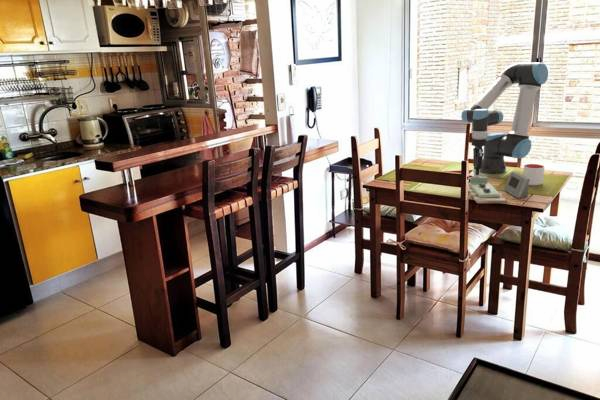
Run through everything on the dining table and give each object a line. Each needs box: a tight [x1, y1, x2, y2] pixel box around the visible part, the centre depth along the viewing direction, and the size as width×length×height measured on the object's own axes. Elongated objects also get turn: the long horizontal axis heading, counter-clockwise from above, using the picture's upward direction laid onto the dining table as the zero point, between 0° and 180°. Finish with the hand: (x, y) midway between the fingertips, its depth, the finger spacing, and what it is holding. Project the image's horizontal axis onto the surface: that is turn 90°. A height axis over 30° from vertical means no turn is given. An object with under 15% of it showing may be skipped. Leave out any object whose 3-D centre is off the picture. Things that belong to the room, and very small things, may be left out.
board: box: [468, 183, 508, 204], centre depth 237 cm, size 29×14×4 cm, turn 173°
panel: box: [468, 176, 501, 197], centre depth 239 cm, size 22×10×4 cm, turn 173°
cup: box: [522, 163, 545, 187], centre depth 250 cm, size 10×10×10 cm
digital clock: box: [503, 171, 530, 199], centre depth 234 cm, size 16×9×11 cm, turn 171°
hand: (476, 180), depth 253 cm, fingers closed
